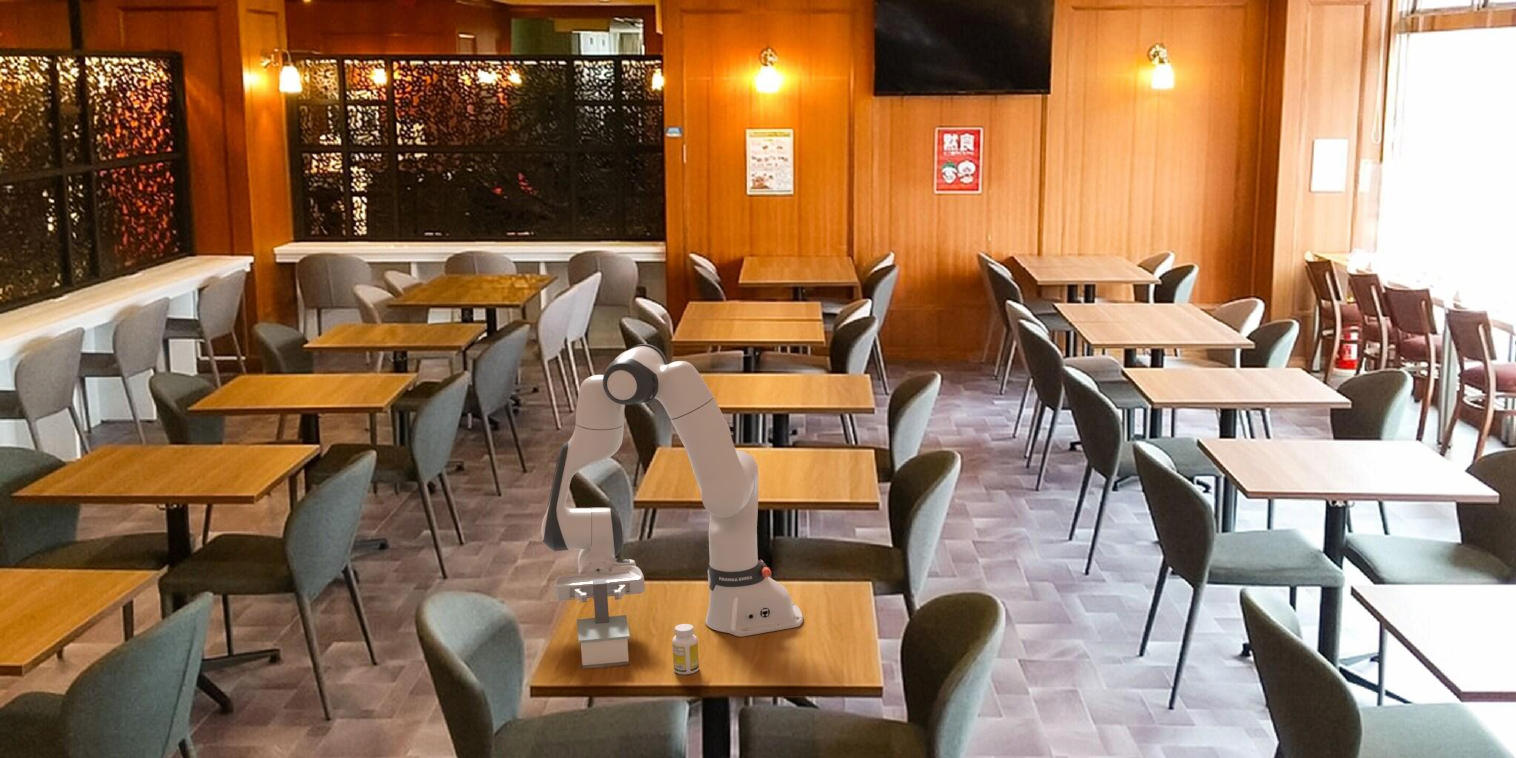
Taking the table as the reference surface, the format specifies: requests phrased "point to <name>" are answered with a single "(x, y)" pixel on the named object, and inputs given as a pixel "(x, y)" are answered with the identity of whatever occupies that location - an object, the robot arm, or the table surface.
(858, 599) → the table surface
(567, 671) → the table surface
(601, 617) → the carton lid
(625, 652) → the carton
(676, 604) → the table surface
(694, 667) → the supplement bottle
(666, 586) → the table surface
